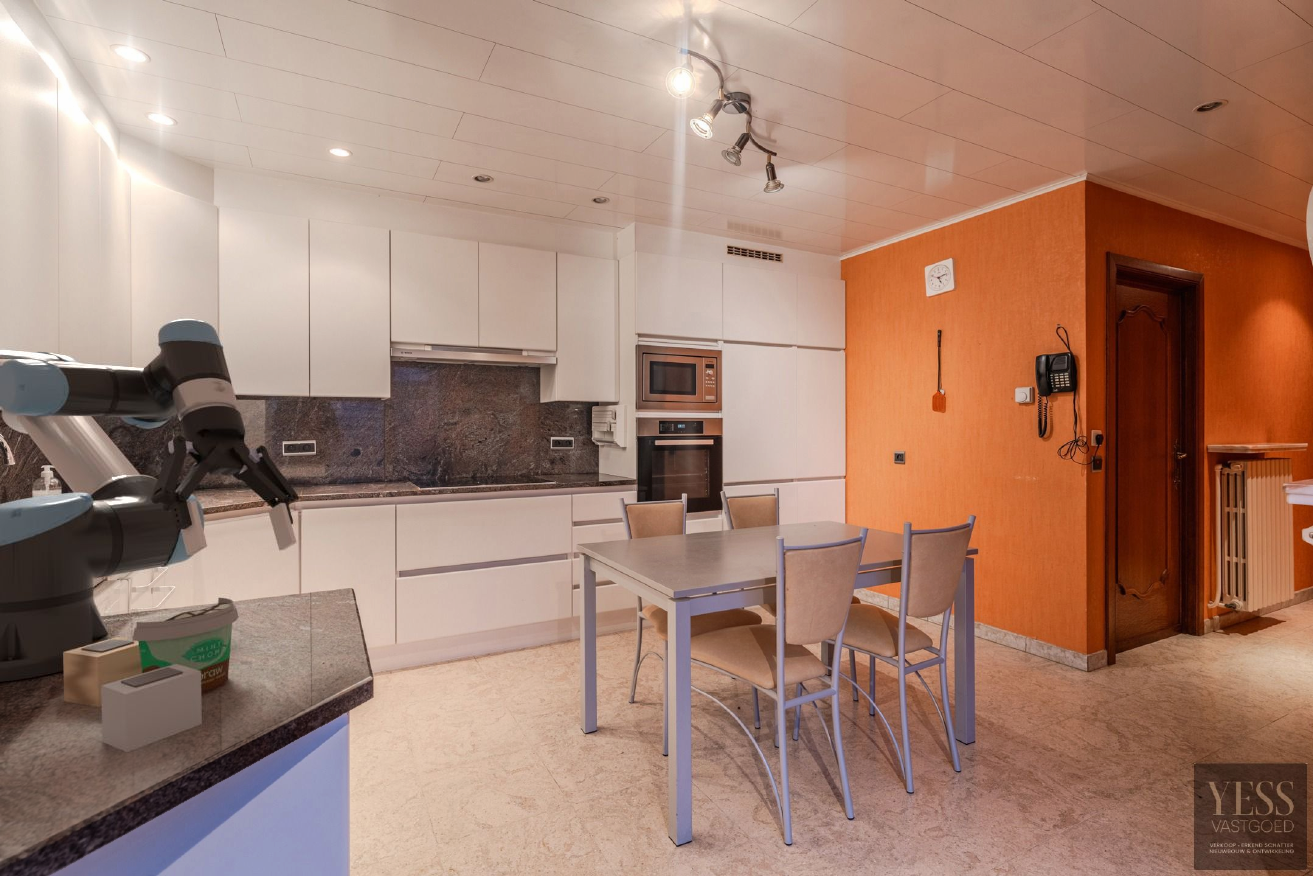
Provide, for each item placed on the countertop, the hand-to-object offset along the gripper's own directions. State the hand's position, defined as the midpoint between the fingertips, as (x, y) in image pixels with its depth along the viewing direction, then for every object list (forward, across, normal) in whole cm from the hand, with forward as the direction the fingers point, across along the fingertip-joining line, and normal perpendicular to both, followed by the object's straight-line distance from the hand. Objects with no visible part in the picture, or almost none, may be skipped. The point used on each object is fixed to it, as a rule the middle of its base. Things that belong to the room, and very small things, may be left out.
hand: (245, 548), depth 90 cm
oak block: (+12, -11, +14) cm, 22 cm away
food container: (+16, -6, +6) cm, 18 cm away
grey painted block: (+21, -16, 0) cm, 26 cm away
